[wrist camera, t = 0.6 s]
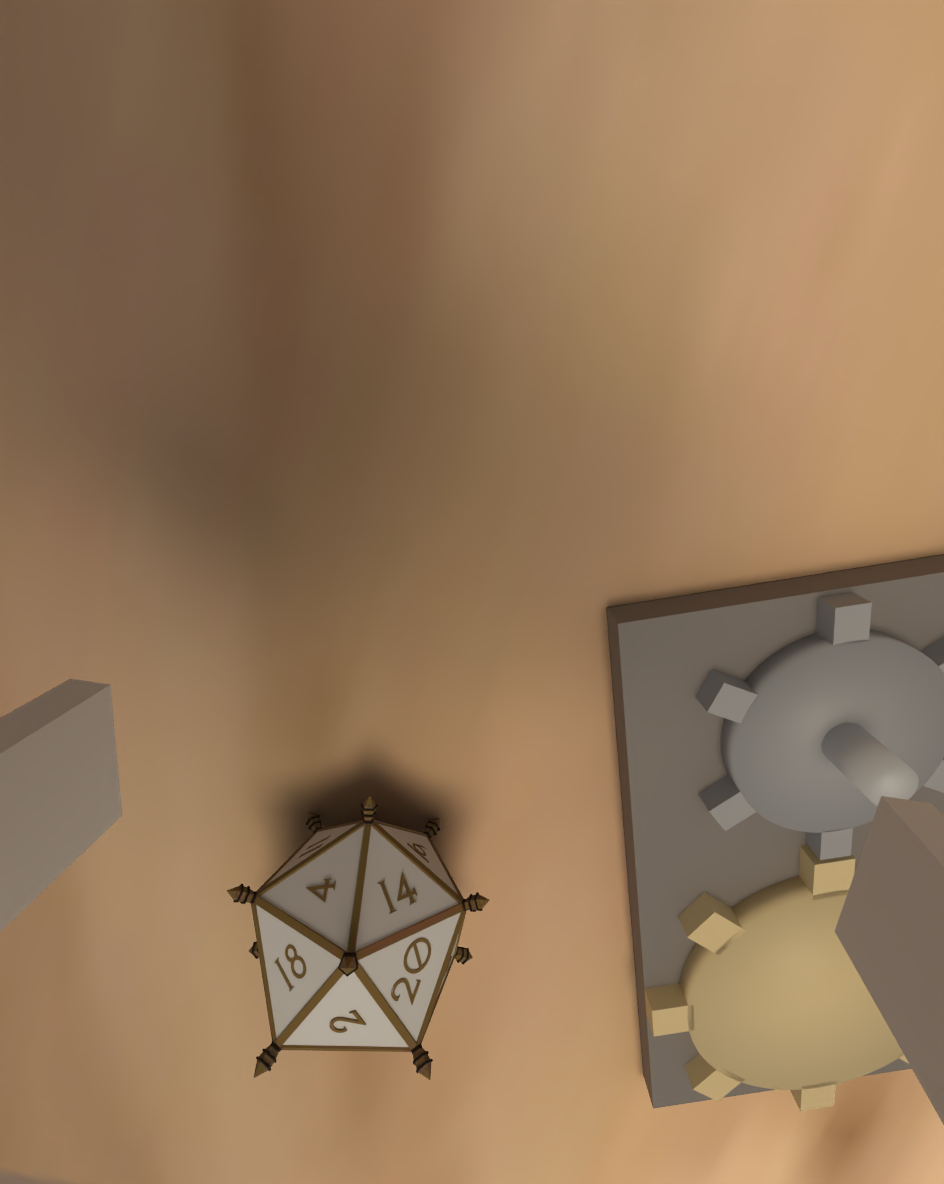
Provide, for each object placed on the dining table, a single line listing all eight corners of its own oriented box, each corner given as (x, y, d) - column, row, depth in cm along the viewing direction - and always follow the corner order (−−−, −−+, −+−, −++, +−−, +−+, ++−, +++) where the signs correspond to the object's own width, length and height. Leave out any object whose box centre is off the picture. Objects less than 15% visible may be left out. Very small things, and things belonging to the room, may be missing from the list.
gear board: (606, 608, 22) (651, 670, 17) (1013, 543, 22) (1170, 588, 17) (643, 1074, 31) (680, 1200, 26) (933, 1030, 31) (1022, 1147, 26)
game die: (365, 754, 28) (342, 739, 18) (509, 878, 27) (563, 930, 17) (222, 925, 25) (108, 1011, 16) (375, 1069, 24) (352, 1253, 15)
